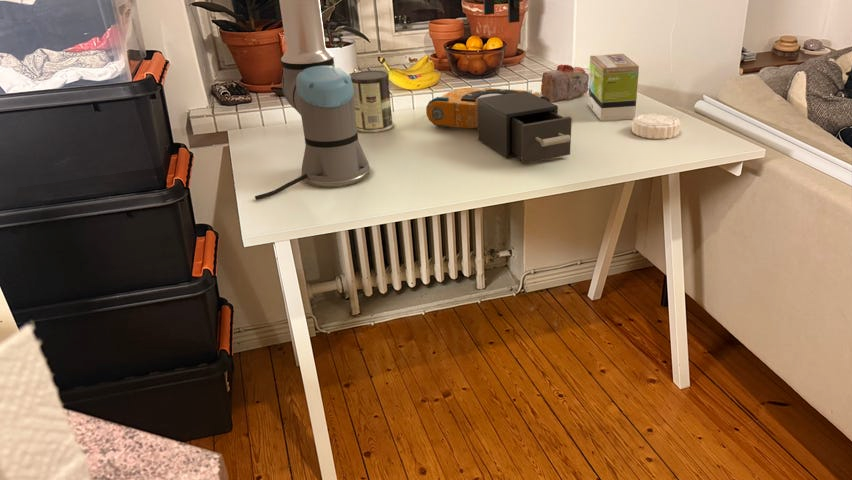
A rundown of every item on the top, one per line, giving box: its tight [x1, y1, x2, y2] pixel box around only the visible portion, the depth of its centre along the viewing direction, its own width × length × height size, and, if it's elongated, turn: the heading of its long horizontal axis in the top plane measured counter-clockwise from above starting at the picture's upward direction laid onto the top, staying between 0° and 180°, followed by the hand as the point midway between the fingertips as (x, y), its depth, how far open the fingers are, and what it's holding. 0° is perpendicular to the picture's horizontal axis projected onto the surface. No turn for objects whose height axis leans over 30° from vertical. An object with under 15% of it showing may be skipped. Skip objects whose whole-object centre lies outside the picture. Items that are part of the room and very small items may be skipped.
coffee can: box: [349, 69, 394, 133], centre depth 188 cm, size 10×10×14 cm
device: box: [425, 87, 551, 129], centre depth 191 cm, size 23×8×30 cm
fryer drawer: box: [510, 111, 573, 164], centre depth 165 cm, size 19×13×9 cm, turn 26°
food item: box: [540, 63, 589, 103], centre depth 210 cm, size 14×8×10 cm, turn 121°
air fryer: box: [477, 90, 559, 159], centre depth 173 cm, size 16×14×11 cm
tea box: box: [587, 53, 640, 122], centre depth 194 cm, size 15×10×15 cm, turn 6°
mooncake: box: [631, 112, 681, 140], centre depth 181 cm, size 12×12×4 cm
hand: (501, 18), depth 174 cm, fingers open, 13 cm apart
